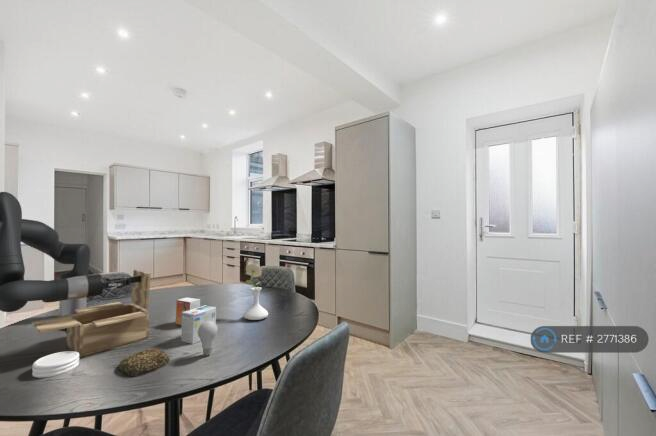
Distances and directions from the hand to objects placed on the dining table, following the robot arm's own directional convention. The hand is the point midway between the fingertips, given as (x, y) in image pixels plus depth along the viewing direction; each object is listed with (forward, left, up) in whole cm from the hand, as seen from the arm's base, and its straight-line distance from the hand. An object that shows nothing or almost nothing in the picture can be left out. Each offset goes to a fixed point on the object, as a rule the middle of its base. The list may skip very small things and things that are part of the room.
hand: (140, 278), depth 112 cm
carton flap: (0, 0, -11) cm, 11 cm away
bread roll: (+29, -8, -22) cm, 38 cm away
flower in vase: (+20, +40, -22) cm, 50 cm away
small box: (+4, +17, -22) cm, 28 cm away
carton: (0, -14, -21) cm, 26 cm away
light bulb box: (+22, +12, -22) cm, 33 cm away
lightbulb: (+38, +6, -22) cm, 44 cm away
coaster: (+12, -26, -22) cm, 36 cm away
